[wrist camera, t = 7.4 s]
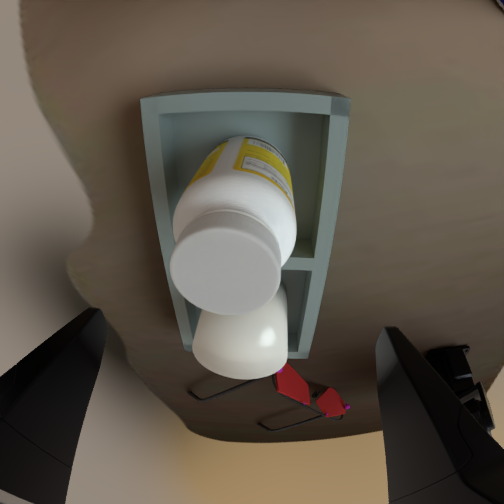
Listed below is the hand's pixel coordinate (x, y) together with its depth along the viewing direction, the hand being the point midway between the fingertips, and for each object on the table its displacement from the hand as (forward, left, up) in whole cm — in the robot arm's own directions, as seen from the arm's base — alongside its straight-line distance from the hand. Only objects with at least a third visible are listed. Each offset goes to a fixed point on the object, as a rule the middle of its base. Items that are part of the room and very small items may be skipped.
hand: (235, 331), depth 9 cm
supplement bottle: (0, +1, -12) cm, 12 cm away
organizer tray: (-5, +1, -13) cm, 14 cm away
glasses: (-29, -1, -14) cm, 32 cm away
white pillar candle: (-10, +1, -12) cm, 16 cm away
